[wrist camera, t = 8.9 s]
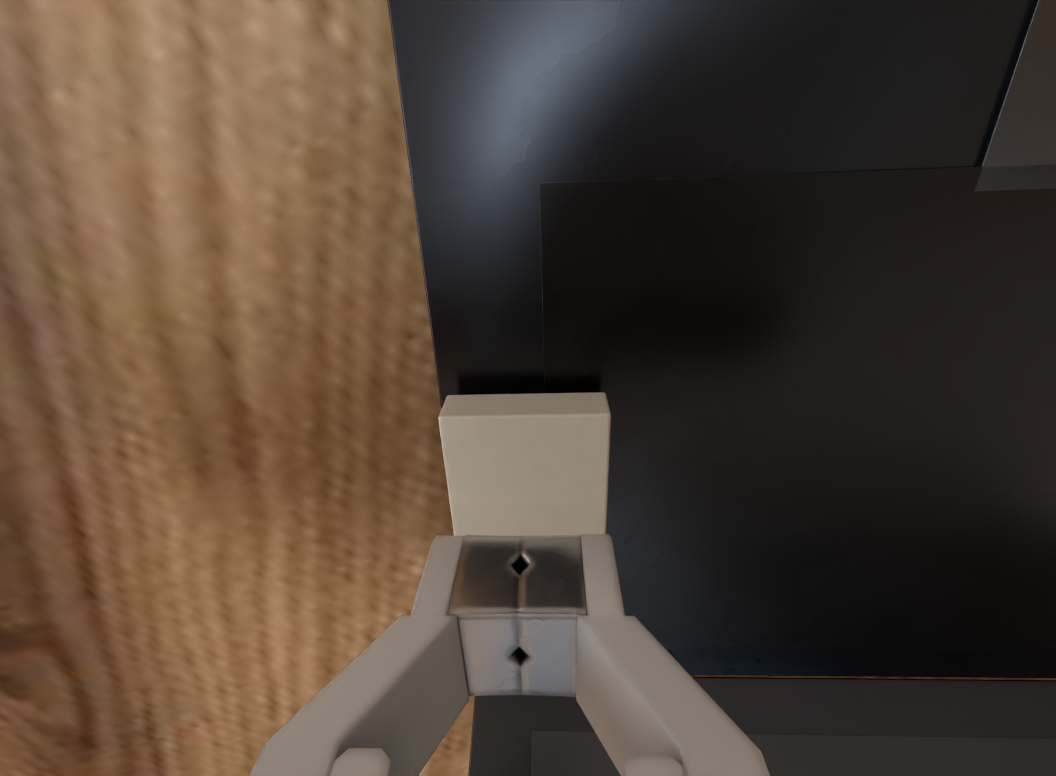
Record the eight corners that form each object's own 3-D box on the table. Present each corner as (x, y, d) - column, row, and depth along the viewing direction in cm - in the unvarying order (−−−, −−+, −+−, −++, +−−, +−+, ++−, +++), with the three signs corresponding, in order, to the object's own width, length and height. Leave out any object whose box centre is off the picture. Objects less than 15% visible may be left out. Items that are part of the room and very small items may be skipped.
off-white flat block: (446, 394, 10) (436, 417, 10) (605, 390, 10) (611, 414, 9) (462, 517, 12) (454, 547, 11) (601, 516, 12) (605, 546, 11)
